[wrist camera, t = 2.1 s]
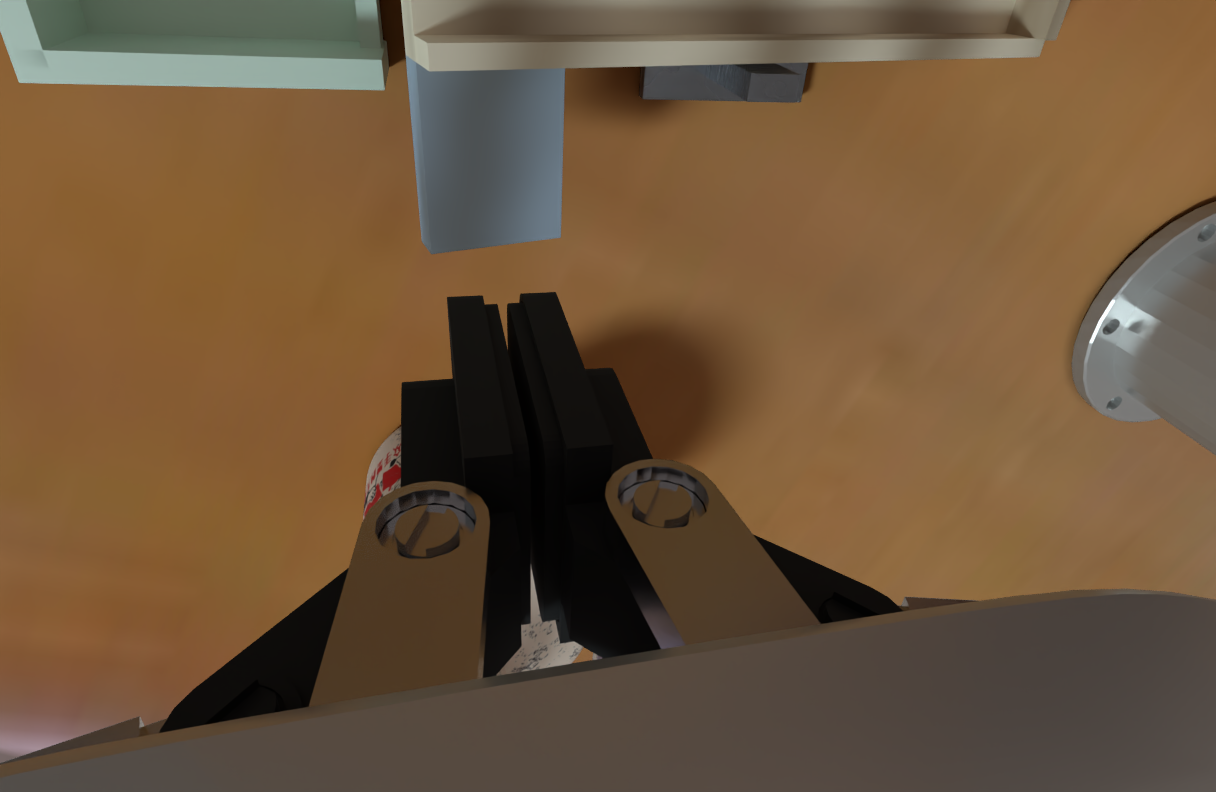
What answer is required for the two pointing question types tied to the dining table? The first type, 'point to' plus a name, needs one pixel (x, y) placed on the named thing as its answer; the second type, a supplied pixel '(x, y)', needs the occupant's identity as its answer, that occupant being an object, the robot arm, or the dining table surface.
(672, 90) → the fulcrum
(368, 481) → the teacup with lid
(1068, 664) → the robot arm
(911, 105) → the dining table surface
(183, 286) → the dining table surface
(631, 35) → the lever
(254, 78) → the tray
